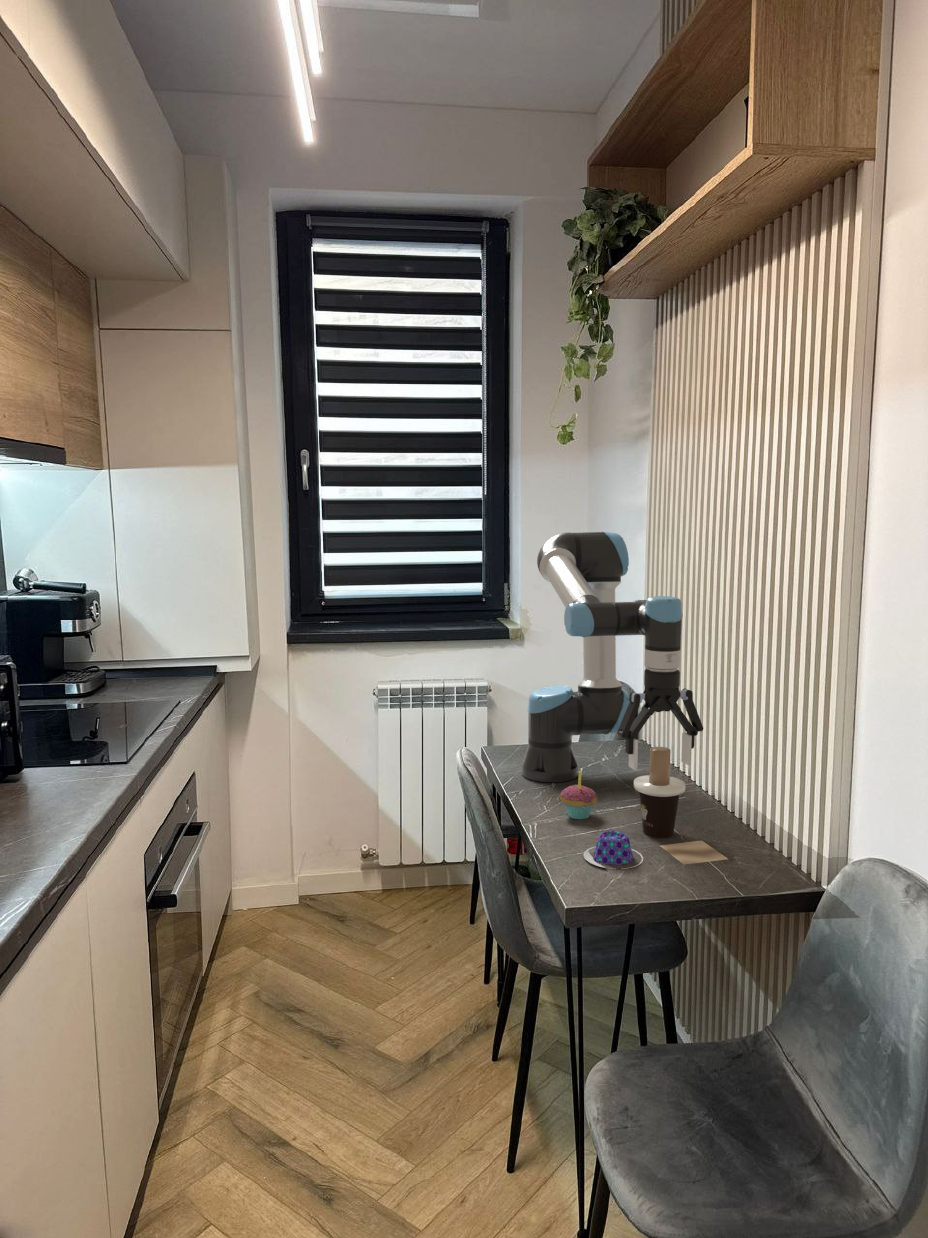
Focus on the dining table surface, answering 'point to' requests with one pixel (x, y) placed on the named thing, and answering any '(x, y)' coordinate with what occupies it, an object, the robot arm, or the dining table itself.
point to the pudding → (611, 850)
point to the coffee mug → (658, 815)
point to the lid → (659, 776)
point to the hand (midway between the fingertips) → (659, 765)
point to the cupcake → (578, 800)
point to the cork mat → (693, 852)
